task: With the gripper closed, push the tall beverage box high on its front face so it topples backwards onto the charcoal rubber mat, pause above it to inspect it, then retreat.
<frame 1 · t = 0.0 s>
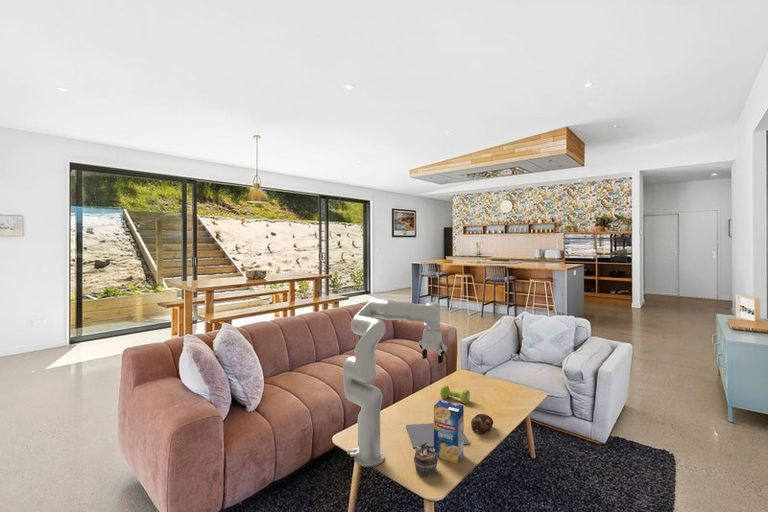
hand: (432, 360, 190), 31 cm above the table, tool pointing down, fingers open, 9 cm apart
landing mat: (436, 435, 177), on the table
decorative turtle: (482, 431, 181), on the table
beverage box: (448, 456, 161), on the table
dumbbell: (455, 400, 215), on the table
cupcake: (425, 471, 151), on the table
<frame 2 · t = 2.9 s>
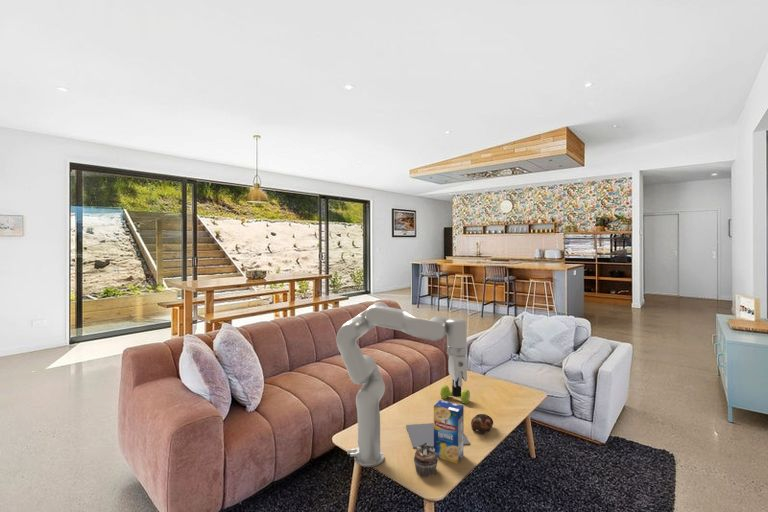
hand: (456, 395, 148), 31 cm above the table, tool pointing down, fingers closed
nothing on the table moved.
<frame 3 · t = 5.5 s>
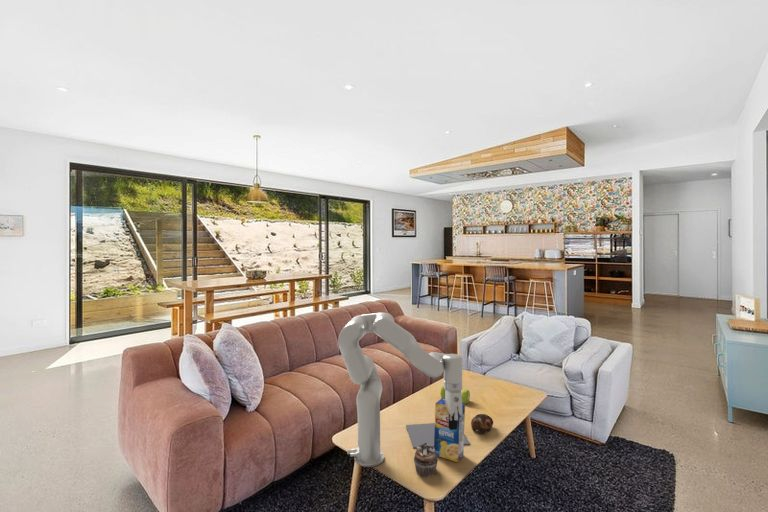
hand: (452, 428, 154), 15 cm above the table, tool pointing down, fingers closed
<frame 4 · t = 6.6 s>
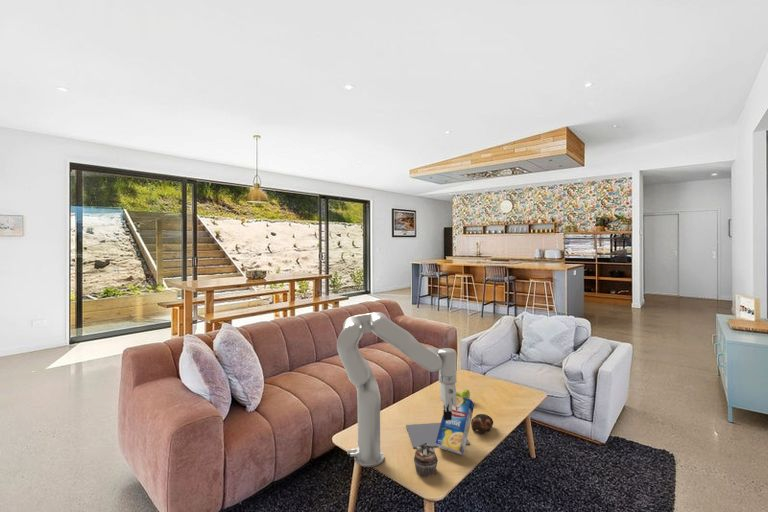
hand: (447, 419, 162), 15 cm above the table, tool pointing down, fingers closed
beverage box: (449, 449, 161), point 2 cm above the table
everything else where it was.
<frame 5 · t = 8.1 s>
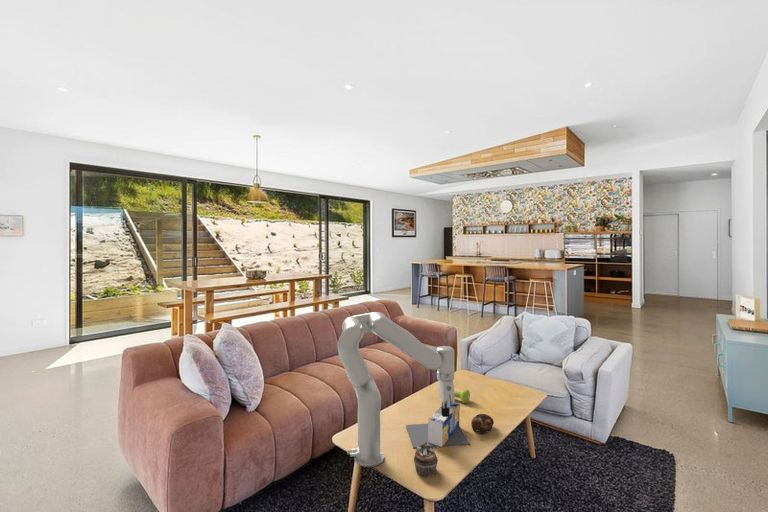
hand: (445, 415, 165), 15 cm above the table, tool pointing down, fingers closed
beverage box: (434, 433, 167), point 6 cm above the table, touching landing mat
everything else where it was.
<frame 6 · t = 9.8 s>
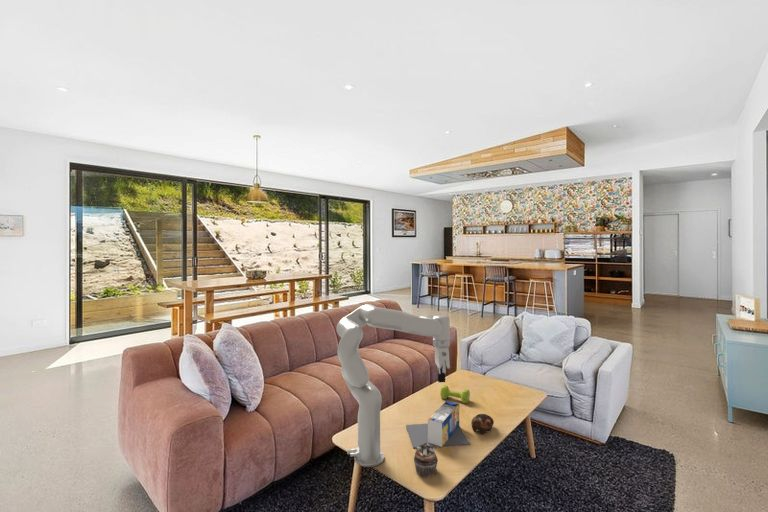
hand: (441, 381, 172), 28 cm above the table, tool pointing down, fingers closed
nothing on the table moved.
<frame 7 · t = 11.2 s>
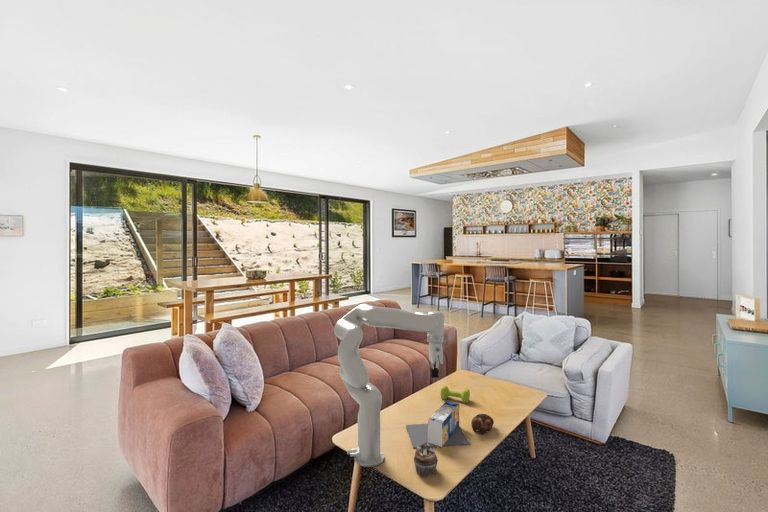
hand: (434, 377, 174), 29 cm above the table, tool pointing down, fingers closed
nothing on the table moved.
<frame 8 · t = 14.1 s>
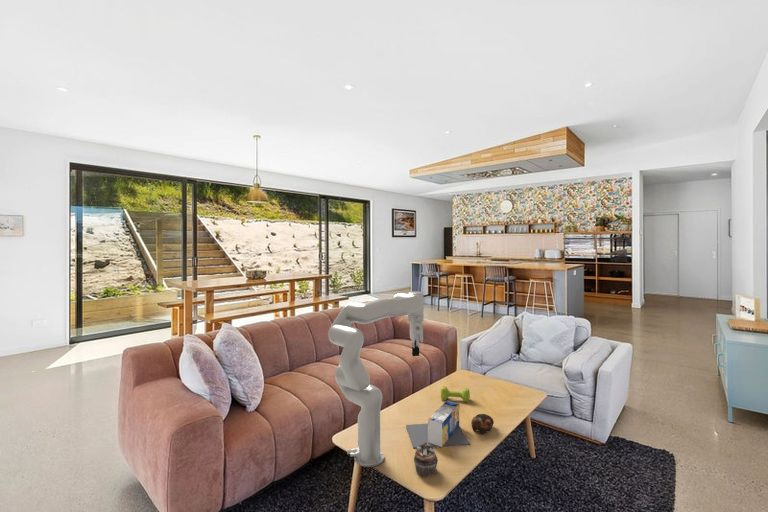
hand: (415, 355, 180), 37 cm above the table, tool pointing down, fingers closed
at the end: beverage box tilted 90°; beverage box touching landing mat; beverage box inside the target area (5.0 cm from its centre), point 6.1 cm above the table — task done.
